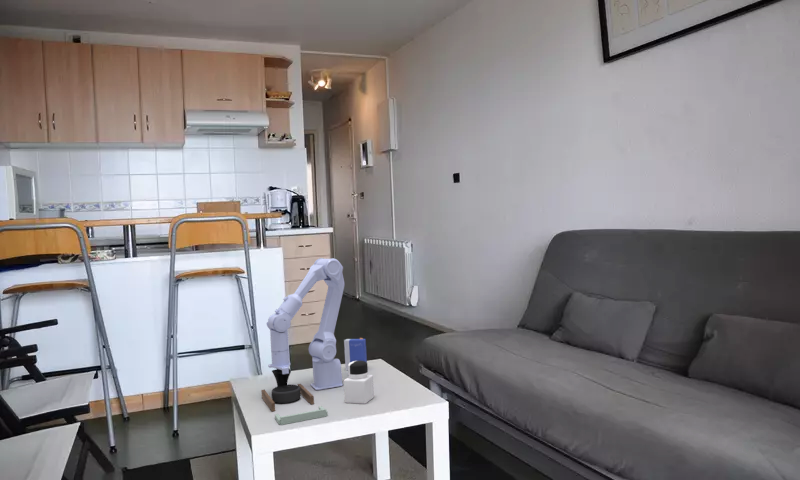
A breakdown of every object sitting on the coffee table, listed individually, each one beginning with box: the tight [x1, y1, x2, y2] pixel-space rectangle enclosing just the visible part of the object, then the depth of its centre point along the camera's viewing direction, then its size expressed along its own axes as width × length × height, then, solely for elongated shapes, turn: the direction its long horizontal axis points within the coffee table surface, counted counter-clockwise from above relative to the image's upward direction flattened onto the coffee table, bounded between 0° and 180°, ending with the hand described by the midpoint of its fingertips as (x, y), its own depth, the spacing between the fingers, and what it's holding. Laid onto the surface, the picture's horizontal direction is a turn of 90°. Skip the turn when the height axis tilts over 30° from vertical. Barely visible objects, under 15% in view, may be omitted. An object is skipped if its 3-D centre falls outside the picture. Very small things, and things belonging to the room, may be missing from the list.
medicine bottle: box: [343, 361, 375, 404], centre depth 176 cm, size 7×7×12 cm
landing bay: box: [274, 405, 329, 426], centre depth 162 cm, size 14×6×2 cm, turn 114°
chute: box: [260, 383, 315, 412], centre depth 179 cm, size 13×17×2 cm
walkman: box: [343, 337, 368, 372], centre depth 214 cm, size 8×3×12 cm, turn 77°
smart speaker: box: [271, 383, 301, 404], centre depth 180 cm, size 9×9×4 cm
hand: (282, 391), depth 185 cm, fingers closed
